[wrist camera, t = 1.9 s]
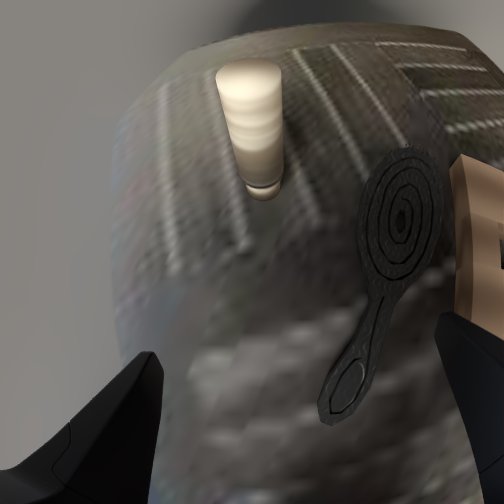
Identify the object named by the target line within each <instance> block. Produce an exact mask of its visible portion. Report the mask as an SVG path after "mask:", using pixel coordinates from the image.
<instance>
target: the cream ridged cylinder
mask: <svg viewBox="0 0 504 504" xmlns="http://www.w3.org/2000/svg"><path fill="white" fill-rule="evenodd" d="M216 82H217V86H218V90H219V94H220V98H221V102H222V106H223V110H224V114H225V118H226V121H227V125H228V129H229V133H230V137H231V141H232V145H233V149H234V153H235V157H236V161H237V165H238V171H239V175H240V178H241V179H242V181H243V182H244V183H245V184H246V187H247V191H248V193H249V195H250V196H251V197H252V198H254V199H256V200H259V201H267V200H270V199H272V198H274V197H275V196H276V195H277V194H278V193H279V191H280V180H281V178H282V176H283V173H284V162H283V116H282V85H281V70H280V68H279V67H278V65H276V64H275V63H274V62H272V61H270V60H267V59H262V58H243V59H239V60H235V61H232V62H230V63H228V64H226V65H225V66H223V67H222V68H221V69H220V70H219V71H218V73H217V75H216Z"/></svg>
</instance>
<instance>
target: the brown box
mask: <svg viewBox="0 0 504 504" xmlns="http://www.w3.org/2000/svg"><path fill="white" fill-rule="evenodd" d="M449 173H450V180H451V188H452V196H453V206H454V219H455V238H456V282H455V301H454V312H455V313H457V314H458V315H460V316H462V317H464V318H466V319H467V320H469V321H471V322H473V323H475V324H476V325H478V326H480V327H482V328H483V329H485V330H487V331H489V332H490V333H492V334H494V335H496V336H497V337H499V338H501V339H503V340H504V270H503V269H501V254H500V241H499V239H500V240H503V241H504V172H502V171H500V170H498V169H496V168H494V167H491V166H489V165H487V164H485V163H482V162H480V161H478V160H475V159H473V158H470V157H468V156H465V155H463V154H460V156H459V157H458V158H457V160H456V161H455V162H454V164H453V165H452V166H451V167H450V169H449Z"/></svg>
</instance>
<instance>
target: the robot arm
mask: <svg viewBox="0 0 504 504" xmlns="http://www.w3.org/2000/svg"><path fill="white" fill-rule="evenodd" d="M434 337H435V341H436V344H437V347H438V350H439V353H440V356H441V360H442V363H443V366H444V369H445V373H446V376H447V378H448V381H449V384H450V386H451V389H452V391H453V394H454V396H455V399H456V402H457V405H458V407H459V410H460V413H461V416H462V419H463V422H464V425H465V428H466V431H467V434H468V437H469V441H470V444H471V447H472V451H473V454H474V458H475V462H476V466H477V470H478V474H479V479H480V483H481V488H482V493H483V498H484V504H504V340H503V339H501V338H499V337H497V336H496V335H494V334H492V333H490V332H489V331H487V330H485V329H483V328H482V327H480V326H478V325H476V324H475V323H473V322H471V321H469V320H467V319H466V318H464V317H462V316H460V315H458V314H457V313H455V312H453V311H449V312H445V313H442V314H441V315H440V317H439V320H438V323H437V326H436V329H435V333H434ZM163 381H164V370H163V368H162V366H161V364H160V362H159V360H158V358H157V356H156V354H155V353H154V352H152V351H143V352H140V353H139V354H138V355H137V356H136V357H135V358H134V359H133V360H132V361H131V362H130V363H129V364H128V365H127V366H126V367H125V368H124V369H123V370H122V371H121V372H120V373H119V374H117V375H116V376H115V378H113V379H112V380H111V381H110V382H109V383H108V384H107V385H106V386H105V387H104V388H103V389H102V390H101V391H100V392H99V393H98V394H97V395H96V396H95V397H94V398H93V399H92V400H91V401H90V402H89V403H88V404H87V405H86V406H85V407H83V408H82V410H80V412H78V413H77V414H76V415H75V416H74V417H73V418H72V419H71V420H70V422H68V423H67V424H66V425H65V426H64V427H63V428H62V429H61V430H60V431H59V432H58V433H57V434H55V435H54V436H53V437H52V438H51V439H50V440H49V441H48V442H46V443H45V444H44V445H43V446H42V447H40V448H39V449H38V450H37V451H35V452H34V453H33V454H31V455H30V456H29V457H28V458H26V459H25V460H24V461H22V462H21V463H20V464H18V465H17V466H15V467H13V468H11V469H7V470H0V504H147V503H148V495H149V488H150V481H151V474H152V467H153V460H154V454H155V448H156V442H157V436H158V430H159V425H160V419H161V409H162V394H163Z"/></svg>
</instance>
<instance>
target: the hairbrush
mask: <svg viewBox="0 0 504 504" xmlns="http://www.w3.org/2000/svg"><path fill="white" fill-rule="evenodd" d="M406 146H407V145H406ZM409 146H410V144H409ZM413 147H414V145H413ZM397 149H399V148H397ZM420 149H421V147H420ZM422 150H424V149H422ZM433 159H434V162H435V158H433ZM392 165H393V166H392ZM391 166H392V167H391ZM390 167H391V168H390ZM437 167H438V166H437ZM389 168H390V170H389V171H388V172H387V173H386V174H385V175H384V176H383V178H382V180H381V181H380V183H379V185H378V187H377V189H376V191H375V193H374V195H373V196H374V197H373V198H372V201H371V205H370V208H369V202H370V198H371V196H372V194H373V192H374V190H375V188H376V186H377V184H378V182H379V180H380V178H381V176H382V175H383V174H384V173H385V172H386V171H387V170H388V169H389ZM398 173H399V174H398ZM396 174H398V176H397V177H396V178H395V179H394V180H393V181H392V182H391V184H390V185H389V186H388V188H387V190H386V192H385V193H384V190H385V188H386V186H387V185H388V184H389V183H390V181H391V180H392V179H393V178H394V176H395V175H396ZM402 187H405V188H403V189H401V190H399V189H400V188H402ZM398 190H399V192H398V193H397V195H396V197H395V198H394V200H393V201H392V198H393V197H394V195H395V193H396V192H397V191H398ZM383 194H384V196H383ZM382 198H383V199H384V200H383V201H382ZM381 202H382V205H381ZM391 202H392V204H391ZM380 206H381V211H380V216H379V222H378V227H377V218H378V214H379V210H380ZM390 206H391V208H390ZM368 208H369V213H368ZM390 209H391V210H390ZM389 210H390V213H389ZM399 211H401V213H402V212H403V213H404V216H403V217H404V228H403V231H402V232H401V233H400V234H399V235H398V232H399V230H398V231H397V227H396V224H395V221H396V219H397V216H398V214H399ZM403 213H402V214H403ZM367 214H368V219H367ZM388 214H389V223H388ZM443 214H444V193H443V179H442V176H441V173H439V171H438V169H437V168H436V166H435V164H434V163H433V161H432V159H431V158H430V156H429V155H428V151H427V153H425V152H422V151H420V150H417V149H414V148H412V147H406V148H403V149H400V150H396V151H393V152H392V150H391V152H390V153H389V154H388V155H387V156H386V157H385V158H384V160H383V161H382V162H381V163H380V164H379V165H378V167H377V168H376V169H375V171H374V172H373V173H372V175H371V176H370V178H369V180H368V181H367V183H366V186H365V188H364V191H363V194H362V197H361V201H360V205H359V210H358V214H357V234H356V241H357V247H358V249H359V253H358V255H359V254H360V258H361V261H360V262H362V263H361V266H362V269H363V272H364V275H365V279H366V284H367V289H368V294H369V299H370V302H369V304H368V306H367V309H366V311H365V313H364V316H363V318H362V320H361V323H360V325H359V327H358V329H357V331H356V334H355V336H354V338H353V340H352V342H351V343H350V345H349V346H348V348H347V349H346V351H345V352H344V353H343V355H342V356H341V358H340V359H339V361H338V362H337V363H336V365H335V366H334V367H333V369H332V370H331V372H330V373H329V374H328V376H327V378H326V381H325V384H324V386H323V389H322V391H321V394H320V396H319V399H318V400H319V402H318V403H317V406H318V413H319V417H320V421H321V422H323V423H325V424H328V425H330V426H332V425H334V424H336V423H338V422H339V421H341V420H343V419H345V418H347V417H348V416H350V415H352V414H353V413H354V411H355V410H356V408H357V407H358V405H359V404H360V402H361V401H362V399H363V398H364V396H365V395H366V393H367V392H368V390H369V389H370V386H371V383H372V380H373V376H374V373H375V369H376V365H377V361H378V358H379V354H380V350H381V347H382V344H383V341H384V338H385V335H386V332H387V329H388V325H389V322H390V319H391V315H392V312H393V308H394V305H395V304H396V303H397V302H398V300H399V299H400V298H401V297H402V295H403V294H404V293H405V291H406V290H407V289H408V288H409V287H410V286H411V285H412V284H413V282H415V281H416V279H417V278H418V277H419V276H420V275H421V273H422V272H423V271H424V270H425V269H426V268H427V266H428V265H429V264H430V261H431V259H432V256H433V253H434V251H435V248H436V245H437V243H438V240H439V237H440V234H441V228H442V221H443ZM366 219H367V241H366V231H365V225H366ZM420 223H421V224H420ZM388 224H389V233H388ZM410 226H411V230H410V234H409V237H408V240H407V242H406V243H405V244H399V243H404V241H405V239H406V236H407V234H408V231H409V229H410ZM419 227H420V229H419ZM418 231H419V235H418V239H417V242H416V246H415V249H414V251H413V248H414V245H415V241H416V238H417V234H418ZM429 233H430V234H429ZM389 234H390V235H389ZM428 235H429V237H428ZM427 238H428V241H427ZM378 241H379V245H378ZM393 241H394V242H395V243H396V244H394V242H393ZM426 241H427V245H426V248H425V250H424V247H425V244H426ZM367 246H368V251H367ZM379 247H380V249H379ZM423 250H424V253H423ZM412 251H413V253H412V254H411V256H410V258H409V259H408V260H407V261H406V262H405V263H403V264H398V263H401V262H402V261H404V260H405V259H406V258H407V257H408V256H409V254H410V253H411V252H412ZM422 253H423V255H422V257H421V259H420V261H419V262H418V264H417V266H416V268H415V269H414V270H413V271H412V272H411V270H412V269H413V267H414V266H415V264H416V263H417V261H418V259H419V258H420V256H421V254H422ZM369 255H370V256H369ZM370 257H371V258H370ZM360 258H359V259H360ZM389 262H390V263H392V264H394V265H391V264H390V263H389ZM375 268H376V269H375ZM376 270H377V271H376ZM409 272H411V273H410V274H409V275H408V276H407V277H405V278H403V279H402V280H399V281H389V280H394V279H399V278H400V277H401V278H402V277H403V276H405V275H406V274H408V273H409ZM387 279H388V280H387ZM371 333H372V335H371ZM370 337H371V341H370ZM369 344H370V347H369ZM368 351H369V352H368ZM354 358H356V359H355V360H353V359H354ZM352 360H353V361H352ZM329 398H330V408H331V410H332V412H333V413H330V408H329Z"/></svg>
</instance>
